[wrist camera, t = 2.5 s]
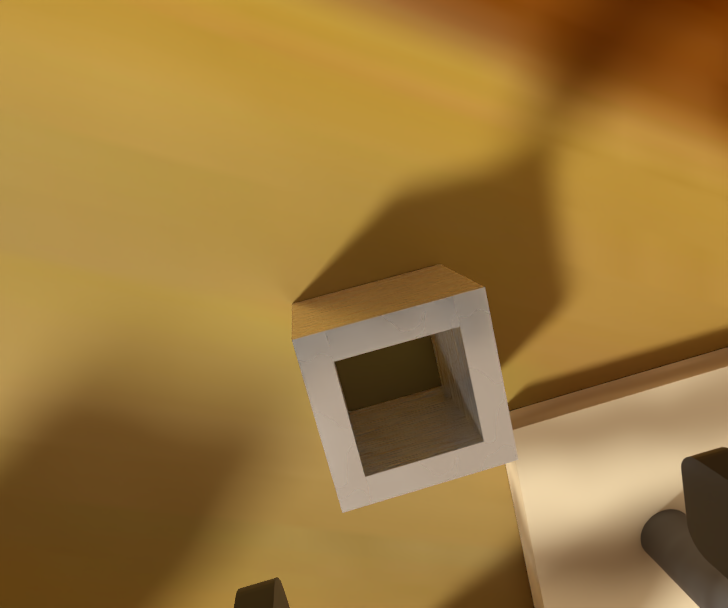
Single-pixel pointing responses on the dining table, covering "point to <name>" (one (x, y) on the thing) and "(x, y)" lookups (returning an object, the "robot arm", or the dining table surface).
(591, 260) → the dining table surface
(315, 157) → the dining table surface
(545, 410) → the stand
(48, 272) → the dining table surface
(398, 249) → the dining table surface
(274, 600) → the robot arm
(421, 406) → the collar
